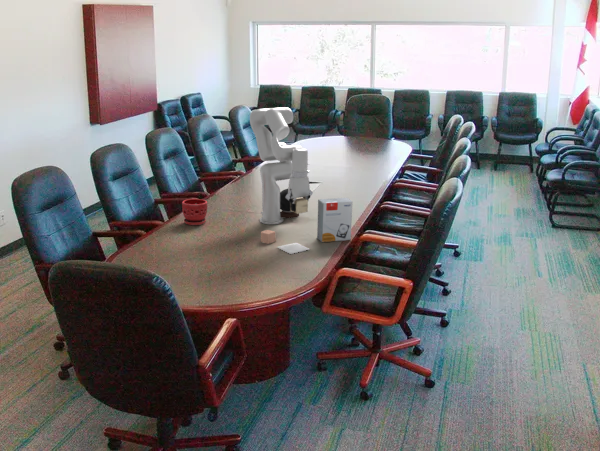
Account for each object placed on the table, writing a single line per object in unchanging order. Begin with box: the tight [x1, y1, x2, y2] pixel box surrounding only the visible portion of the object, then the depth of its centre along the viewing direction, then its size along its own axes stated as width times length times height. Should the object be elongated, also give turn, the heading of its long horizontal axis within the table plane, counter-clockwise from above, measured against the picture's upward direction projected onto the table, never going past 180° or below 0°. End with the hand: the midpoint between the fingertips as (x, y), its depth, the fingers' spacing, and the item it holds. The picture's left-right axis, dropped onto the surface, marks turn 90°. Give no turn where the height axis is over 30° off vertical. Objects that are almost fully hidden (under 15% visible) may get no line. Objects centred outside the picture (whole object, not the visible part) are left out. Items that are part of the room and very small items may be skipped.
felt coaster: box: [276, 242, 311, 255], centre depth 309 cm, size 11×11×1 cm
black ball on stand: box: [280, 188, 300, 219], centre depth 360 cm, size 13×13×15 cm
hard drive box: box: [316, 197, 353, 243], centre depth 321 cm, size 16×8×20 cm, turn 105°
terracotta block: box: [260, 229, 276, 245], centre depth 319 cm, size 5×5×5 cm
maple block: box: [291, 197, 309, 215], centre depth 319 cm, size 6×6×6 cm
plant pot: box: [181, 198, 208, 226], centre depth 346 cm, size 13×13×12 cm
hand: (299, 209), depth 320 cm, fingers closed on maple block, 6 cm apart
